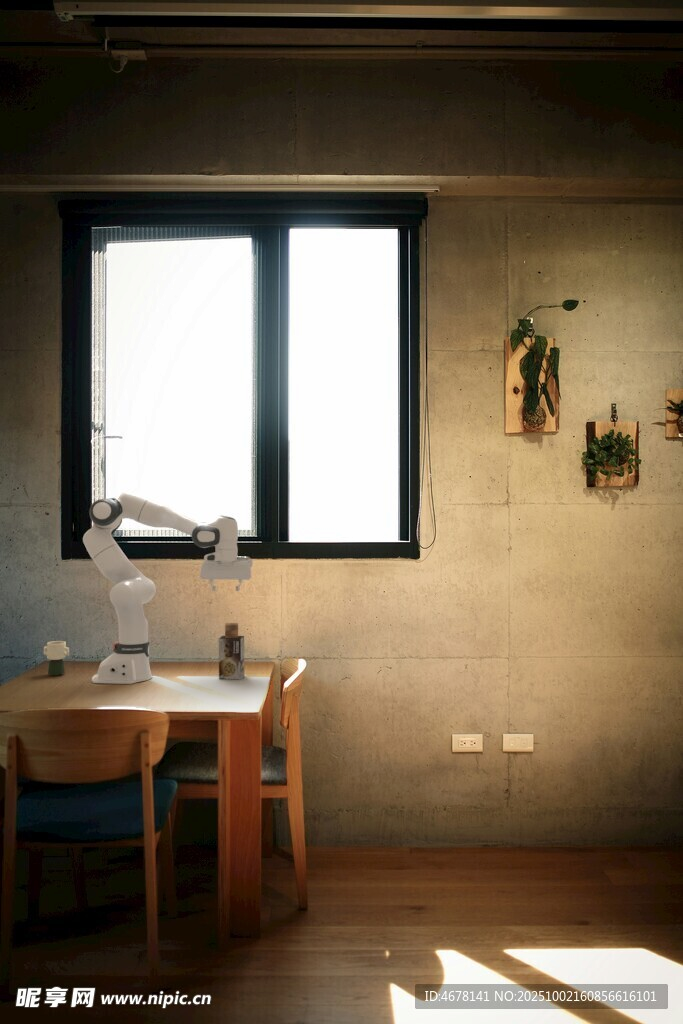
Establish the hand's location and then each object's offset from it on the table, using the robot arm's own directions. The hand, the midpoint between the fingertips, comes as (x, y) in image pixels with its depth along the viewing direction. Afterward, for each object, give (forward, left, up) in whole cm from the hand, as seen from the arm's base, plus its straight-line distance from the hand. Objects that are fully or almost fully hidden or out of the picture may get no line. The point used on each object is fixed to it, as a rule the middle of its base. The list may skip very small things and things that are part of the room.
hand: (225, 590), depth 304 cm
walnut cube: (+3, -7, -17) cm, 19 cm away
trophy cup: (-66, +4, -34) cm, 75 cm away
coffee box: (+3, -7, -34) cm, 35 cm away
